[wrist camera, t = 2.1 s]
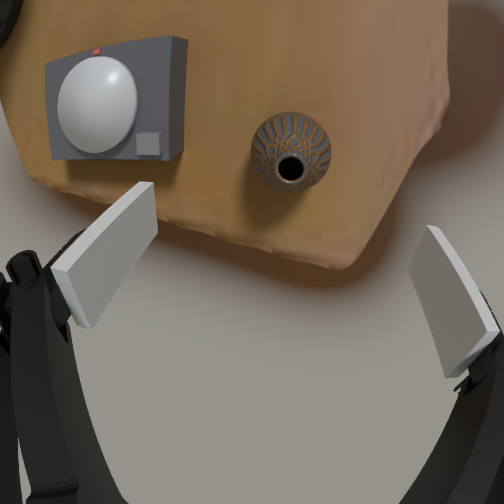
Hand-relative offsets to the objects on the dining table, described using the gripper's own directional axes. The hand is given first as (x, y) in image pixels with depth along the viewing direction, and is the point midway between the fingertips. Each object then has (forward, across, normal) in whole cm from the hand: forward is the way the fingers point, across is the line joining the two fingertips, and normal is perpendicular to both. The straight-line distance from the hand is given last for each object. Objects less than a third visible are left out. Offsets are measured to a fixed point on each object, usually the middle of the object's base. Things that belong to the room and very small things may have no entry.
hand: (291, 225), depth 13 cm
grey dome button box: (+17, -19, +4) cm, 26 cm away
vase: (+17, 0, 0) cm, 17 cm away
